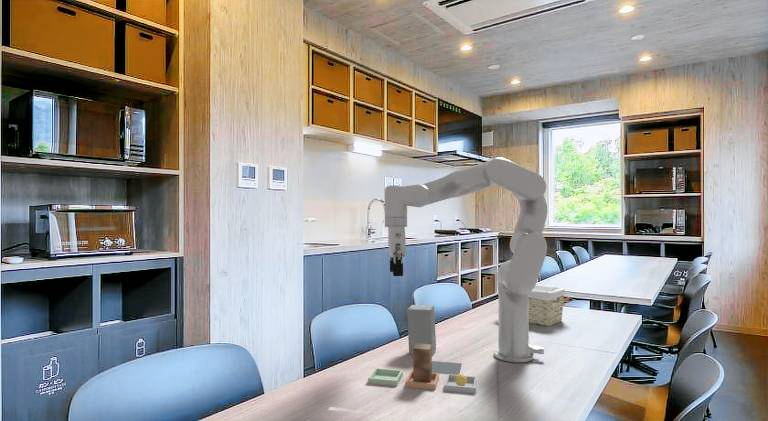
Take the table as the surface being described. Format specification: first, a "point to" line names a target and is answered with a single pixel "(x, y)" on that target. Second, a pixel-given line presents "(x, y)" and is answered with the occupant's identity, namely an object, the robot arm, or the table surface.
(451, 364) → the rubber mat
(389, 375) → the sage tub
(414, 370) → the walnut block
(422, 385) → the terracotta tub
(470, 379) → the grey tub
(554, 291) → the storage basket
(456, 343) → the table surface
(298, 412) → the table surface
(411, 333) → the skincare box
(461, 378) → the mustard ball
